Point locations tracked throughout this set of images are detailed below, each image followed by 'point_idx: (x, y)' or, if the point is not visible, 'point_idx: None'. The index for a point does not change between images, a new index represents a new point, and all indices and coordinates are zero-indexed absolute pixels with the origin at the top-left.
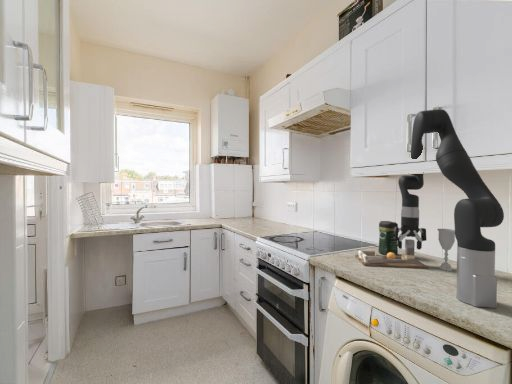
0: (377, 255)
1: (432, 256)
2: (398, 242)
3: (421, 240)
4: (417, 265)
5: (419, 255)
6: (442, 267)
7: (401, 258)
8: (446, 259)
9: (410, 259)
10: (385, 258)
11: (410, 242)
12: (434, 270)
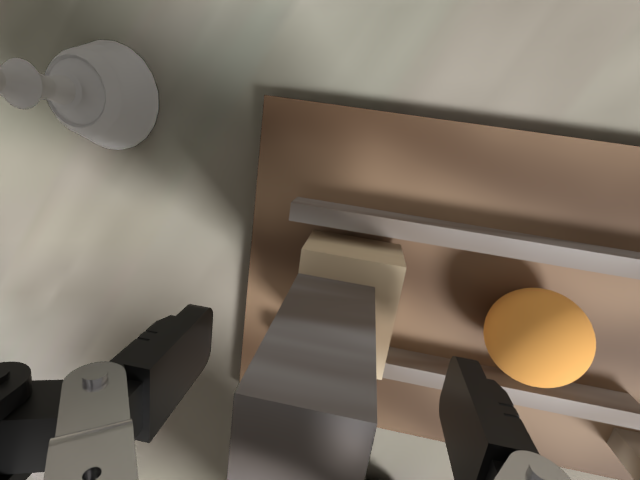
0: (638, 412)
1: None
2: (533, 451)
3: (85, 377)
4: (354, 134)
5: None
6: (136, 83)
7: None
8: (31, 67)
9: (359, 244)
10: None
11: (327, 380)
12: (242, 46)
